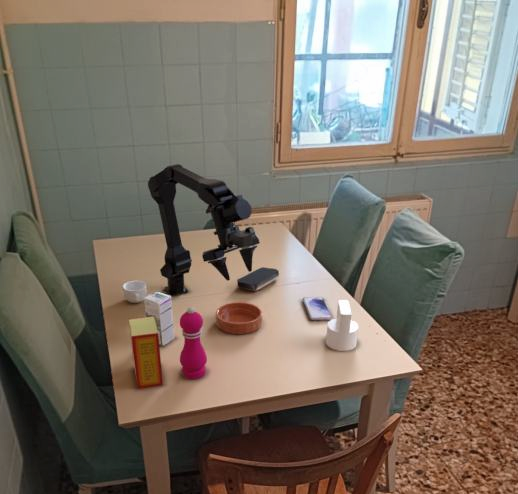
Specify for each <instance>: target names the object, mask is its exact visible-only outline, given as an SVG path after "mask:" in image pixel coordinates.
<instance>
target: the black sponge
mask: <svg viewBox="0 0 518 494" xmlns="http://www.w3.org/2000/svg"><path fill="white" fill-rule="evenodd" d="M279 277H280V272H279V269H276V268H272V267H271V268H270V267H263V266H262V267H259V268H257V269H255V270H252V271H251V272H249V273H248V274H246V275H244V276H241V277H239V278H238V279H236V282H237V287H238V288H239V289H245V290H248V291H252V292H253V291H254V292H257V291H259V290H262V289H263V288H264V287H266V286H267V285H269V284H271V283H273V282H274V281H277V280H278V279H279Z"/></svg>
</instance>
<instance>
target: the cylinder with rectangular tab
mask: <svg viewBox="0 0 518 494" xmlns="http://www.w3.org/2000/svg"><path fill="white" fill-rule="evenodd" d="M352 316H353V315H352V310H351V305H350V301H349V300H347V299H339V300H337V309H336V318H332V319H331V320H328V322H327V324H326V325H327V327H326V335H325V336H326V338H325V344H326V346H327V347H328V348H330V349H332V350H334V351H339V352H340V351H341V352H348V351H351V350H353V349H356V346H357V341H358V334H359V324H358V323H357V322H356V321H355V320H352Z"/></svg>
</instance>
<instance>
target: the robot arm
mask: <svg viewBox="0 0 518 494" xmlns="http://www.w3.org/2000/svg"><path fill="white" fill-rule="evenodd" d="M178 184H180V185H181V186H183V187H186V188H187V189H189V190H191V191H193V192H195V193H196V194H197V196H198V198H199V199H200V200H201V201H203V203H204V204H206V205H208V206H207V208H206V209H205V214H210V217H211V219H212V222H213V225H214V229H215V231H213V235H214V236H217V238H218V242H219V244H217V247H215V248H211V249H208V250H205V251H203V252H202V255H201V257H202V260H203V262H204V263H206V262H207V264H211V265H212V267H214V269H216V270H217V271H218V272H219V273H220V275H221V276H222V277H223V278H224V279H225V280H226V281H227V282H228V281H230V280H231V278H230V273H229V269H228V267H227V256H225V254H228V253H230V252H233V251H236V250H238V252H239V254H240V256H241V260H242V261H243V263H244V266H245V267H246V270H247V271H248V272H249V273H251V272H253V256H254V252H255V250H256V248H258V245H259V244H260V243H261V242H260V239H259V236H257V235H256V231H255V228H254V226H248V227H246V228H245V229H243V230H240V227H239V226H238V224H235V223H237V222H241V221H245V220H249V218H251V215H252V206H251V204H250V203H249V201H248V200H247V199H245V198H244V197H243V195H242V194H240V195H236V194H235V193H234V192H233V191H232V190H231V189H230V188H229V187H228V186H227V184H226V182H225V181H223V180H220V179H216V178H206V177H203V176H201V175H200V174H197V173H196V172H193V171H191V170H189V169H187V168H185V167H184V166H183V165H182V164H180V163H176V164H172V165H167V166H166V167H164V168H163V170H160V172H158V173H156V174H155V175H151V176H150V177H149V179H148V181H147V188H148V190H149V193H150V197H151V198H152V199H153V200H154V201H155V202H156V204H157V205H158V210H159V215H160V220H161V224H162V225H161V226H162V230H163V234H164V238H165V243H166V251H165V254H164V264H163V266H162V267H160V269H159V271H160V275H161V276H162V277H164V278H165V279H167V280H166V282H167V286H164V290H165V291H166V292H167V293H168V295H169V296H176V295H180V294H185V293H189V289H188V288H187V287H186V286H185V274H189V273H190V271H191V267H192V262H193V260H192V258H191V251H190V250H189V249H186V248H185V246H183V243H182V238H181V233H180V227H179V223H178V218H177V213H176V212H177V211H176V208H175V202H174V201H175V198H176V195H177V185H178Z"/></svg>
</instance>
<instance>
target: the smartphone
mask: <svg viewBox="0 0 518 494" xmlns="http://www.w3.org/2000/svg"><path fill="white" fill-rule="evenodd" d="M302 301H303V304H304V306H305V308H306V312H307V315H308V316H309V319H310V320H311V321H324V320H325V321H330V320H332V319H333V316H332V314H331V312H330V309H329V307H328V305H327V304H326V301H325V300H324V297H322V296H310V297H309V296H307V297H306V296H304V297H302Z"/></svg>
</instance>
